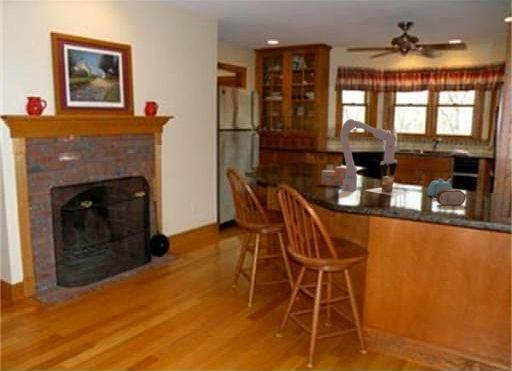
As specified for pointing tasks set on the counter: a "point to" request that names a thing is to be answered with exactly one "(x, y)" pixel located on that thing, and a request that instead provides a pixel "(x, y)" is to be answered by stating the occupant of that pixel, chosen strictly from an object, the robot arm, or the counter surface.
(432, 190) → the teapot
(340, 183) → the stack of blocks
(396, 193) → the board
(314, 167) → the counter surface
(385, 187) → the walnut block
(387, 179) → the maple block
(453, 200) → the tin
